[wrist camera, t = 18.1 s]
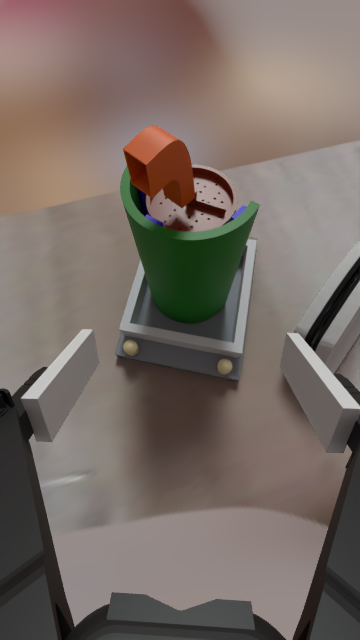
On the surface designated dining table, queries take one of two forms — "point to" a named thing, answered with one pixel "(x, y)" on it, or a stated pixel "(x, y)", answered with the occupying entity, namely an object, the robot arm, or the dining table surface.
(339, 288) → the grey arched block
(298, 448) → the dining table surface
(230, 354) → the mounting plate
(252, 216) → the motor
